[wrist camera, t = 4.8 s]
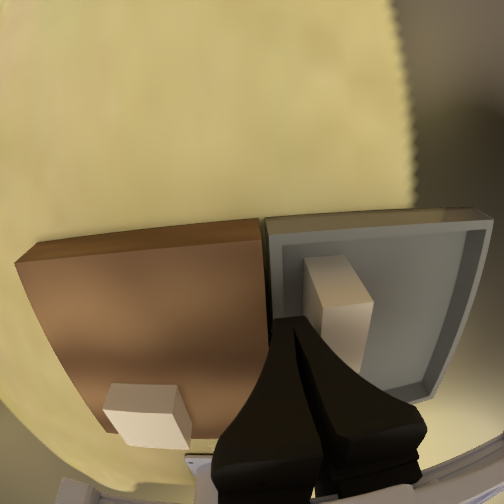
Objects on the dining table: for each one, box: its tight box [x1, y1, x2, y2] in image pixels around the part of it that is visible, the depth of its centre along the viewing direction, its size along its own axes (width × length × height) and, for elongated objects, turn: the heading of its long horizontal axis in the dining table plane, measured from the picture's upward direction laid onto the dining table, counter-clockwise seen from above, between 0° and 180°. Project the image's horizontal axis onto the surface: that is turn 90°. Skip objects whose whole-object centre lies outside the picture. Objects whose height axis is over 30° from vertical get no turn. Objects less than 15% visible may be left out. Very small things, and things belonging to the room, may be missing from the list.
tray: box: [265, 207, 494, 405], centre depth 16 cm, size 14×12×2 cm
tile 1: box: [302, 254, 374, 373], centre depth 14 cm, size 4×4×2 cm
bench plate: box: [14, 218, 269, 439], centre depth 16 cm, size 14×12×2 cm
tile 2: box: [102, 383, 192, 450], centre depth 15 cm, size 4×4×2 cm
